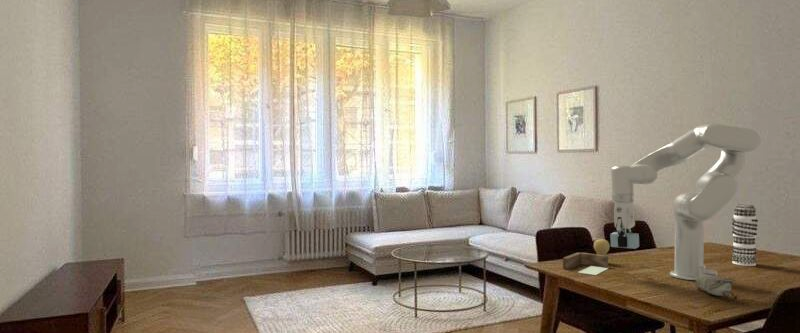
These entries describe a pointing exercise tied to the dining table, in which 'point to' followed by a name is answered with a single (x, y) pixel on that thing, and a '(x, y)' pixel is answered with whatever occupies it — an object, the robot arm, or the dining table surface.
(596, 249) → the light bulb
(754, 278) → the dining table surface
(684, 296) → the dining table surface
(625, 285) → the dining table surface
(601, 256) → the wall side
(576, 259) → the wall far
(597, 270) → the pad
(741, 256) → the decorative candle
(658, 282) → the dining table surface
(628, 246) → the block
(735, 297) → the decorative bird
